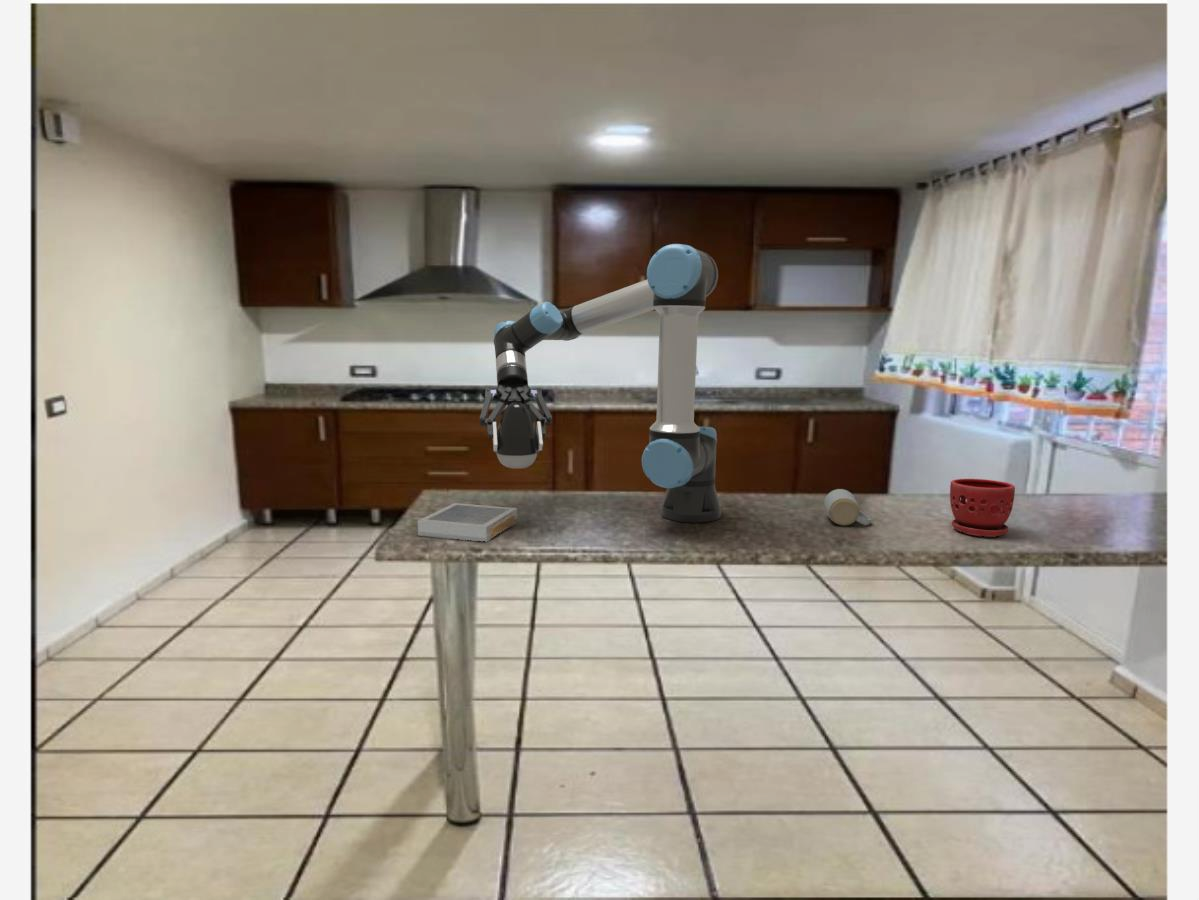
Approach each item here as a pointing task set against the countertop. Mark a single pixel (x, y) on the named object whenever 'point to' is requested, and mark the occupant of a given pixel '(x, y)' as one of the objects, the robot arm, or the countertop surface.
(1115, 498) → the countertop surface
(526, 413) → the black rounded piece
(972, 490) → the plant pot
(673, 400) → the robot arm
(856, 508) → the ceramic mug
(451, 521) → the flat gray box
